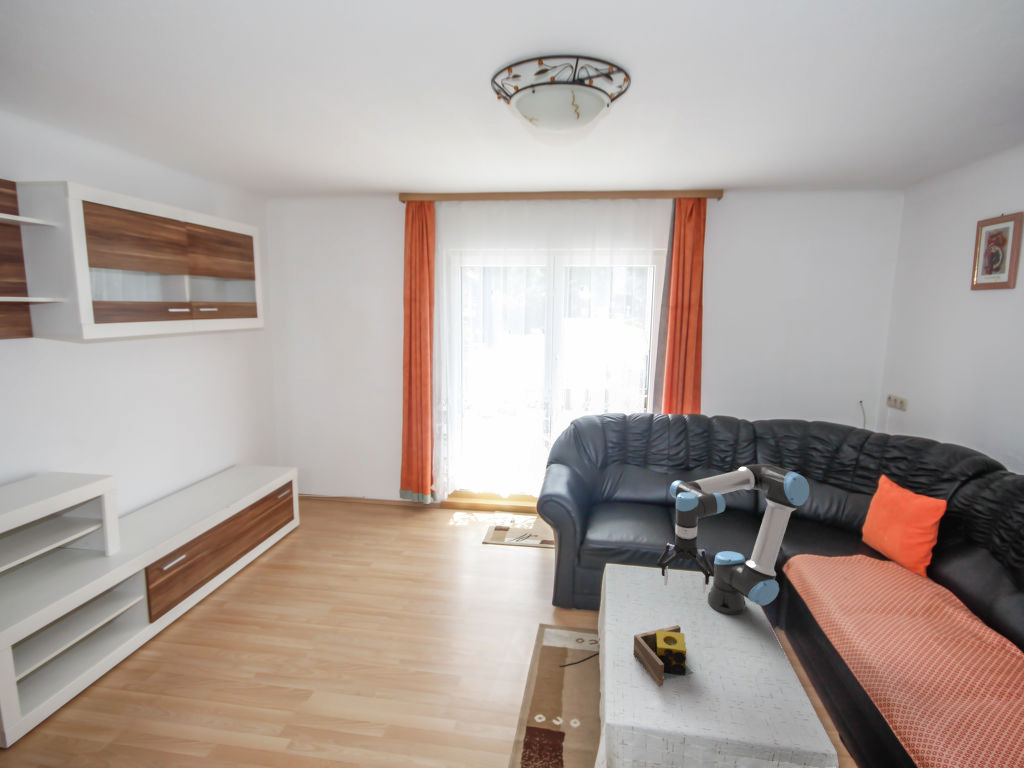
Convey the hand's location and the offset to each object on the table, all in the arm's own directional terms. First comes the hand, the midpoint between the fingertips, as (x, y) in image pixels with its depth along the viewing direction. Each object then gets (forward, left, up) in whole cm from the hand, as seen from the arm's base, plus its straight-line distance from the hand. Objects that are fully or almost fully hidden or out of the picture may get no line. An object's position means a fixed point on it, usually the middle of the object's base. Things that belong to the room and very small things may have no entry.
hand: (684, 587), depth 190 cm
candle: (+11, +9, -23) cm, 27 cm away
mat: (+11, +9, -23) cm, 27 cm away
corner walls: (+11, +8, -23) cm, 27 cm away
